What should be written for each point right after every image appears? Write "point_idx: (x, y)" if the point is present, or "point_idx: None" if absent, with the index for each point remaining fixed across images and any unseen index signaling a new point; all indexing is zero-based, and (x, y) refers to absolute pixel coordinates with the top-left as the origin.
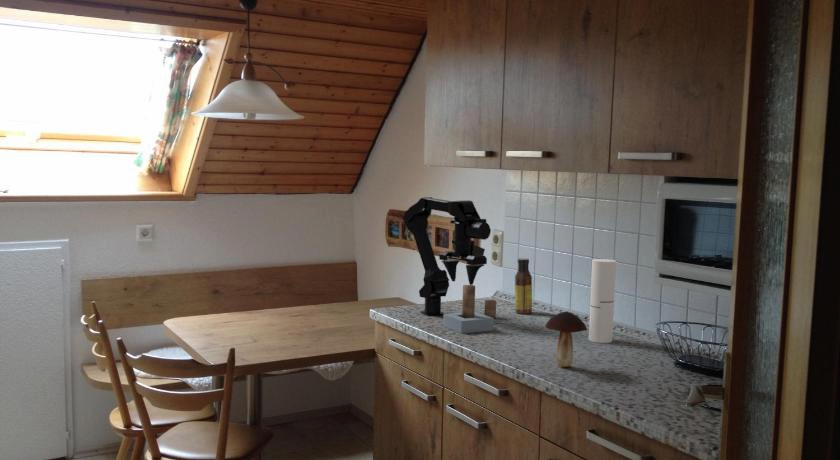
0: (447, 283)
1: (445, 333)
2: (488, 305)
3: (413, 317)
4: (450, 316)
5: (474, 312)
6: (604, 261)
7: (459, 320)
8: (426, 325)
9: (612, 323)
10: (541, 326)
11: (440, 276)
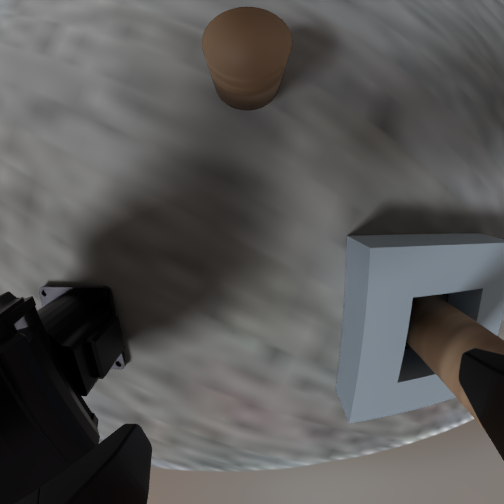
0: (18, 363)
1: (428, 409)
2: (274, 78)
3: (142, 420)
4: (407, 410)
5: (471, 318)
6: None
7: None
8: (298, 435)
9: None
10: (462, 21)
11: (8, 453)
